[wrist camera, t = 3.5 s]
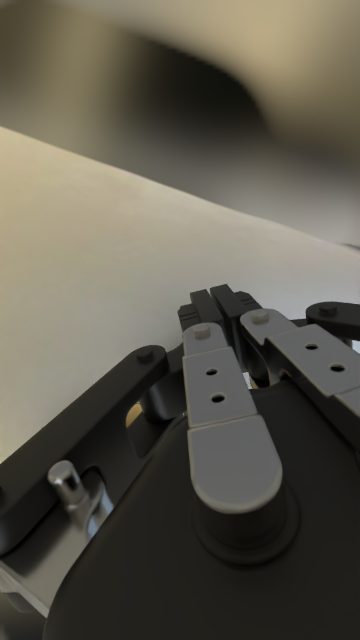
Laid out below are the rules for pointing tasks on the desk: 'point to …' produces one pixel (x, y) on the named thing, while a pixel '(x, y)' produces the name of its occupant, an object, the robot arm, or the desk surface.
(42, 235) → the desk surface
